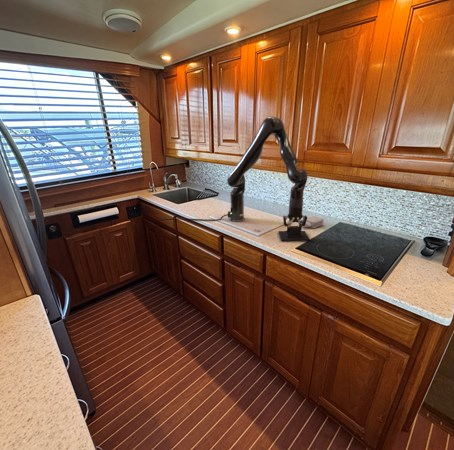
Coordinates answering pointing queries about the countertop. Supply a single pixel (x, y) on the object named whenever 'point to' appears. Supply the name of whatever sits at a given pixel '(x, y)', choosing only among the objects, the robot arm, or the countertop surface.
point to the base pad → (293, 236)
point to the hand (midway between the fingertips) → (293, 232)
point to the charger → (314, 222)
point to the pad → (294, 230)
